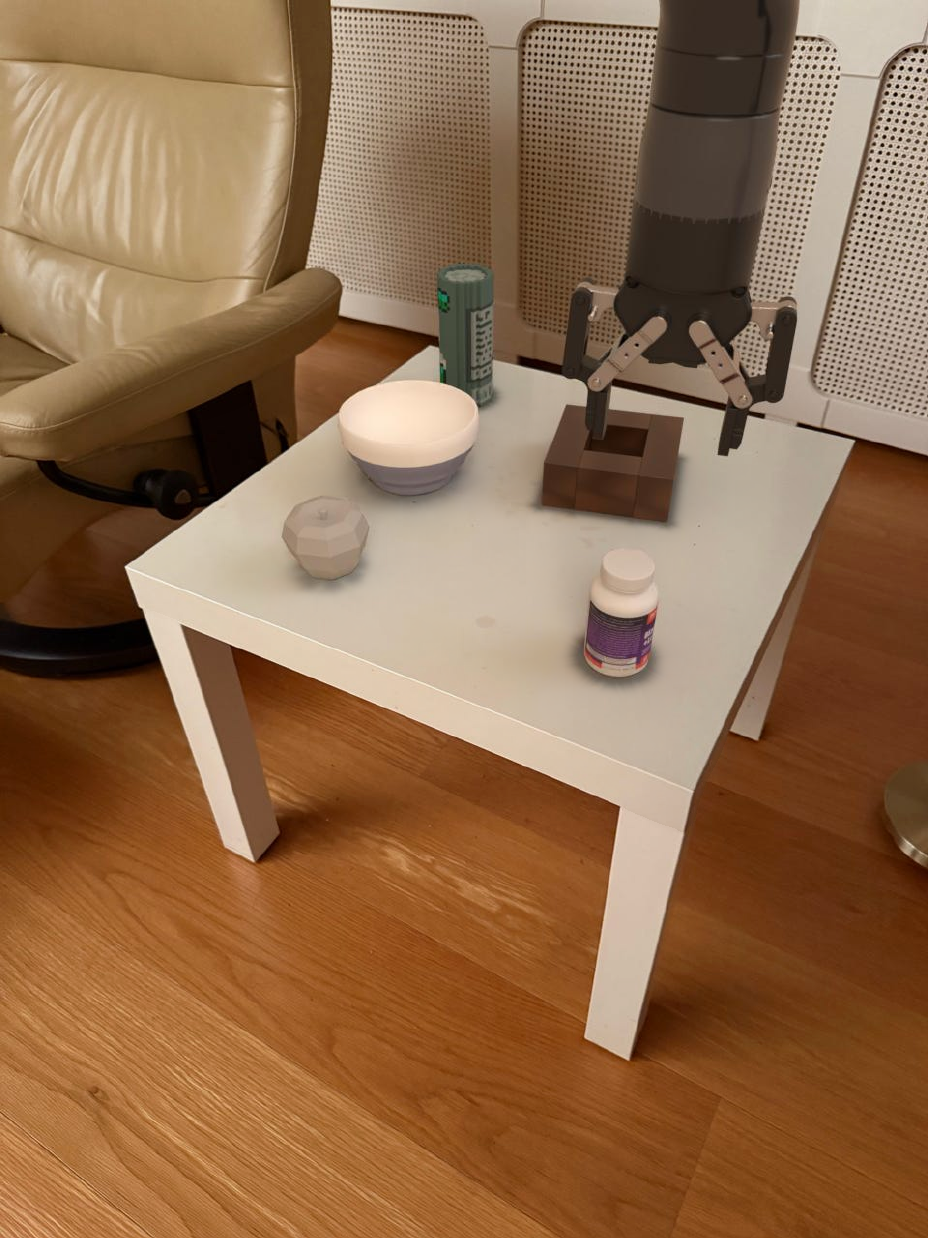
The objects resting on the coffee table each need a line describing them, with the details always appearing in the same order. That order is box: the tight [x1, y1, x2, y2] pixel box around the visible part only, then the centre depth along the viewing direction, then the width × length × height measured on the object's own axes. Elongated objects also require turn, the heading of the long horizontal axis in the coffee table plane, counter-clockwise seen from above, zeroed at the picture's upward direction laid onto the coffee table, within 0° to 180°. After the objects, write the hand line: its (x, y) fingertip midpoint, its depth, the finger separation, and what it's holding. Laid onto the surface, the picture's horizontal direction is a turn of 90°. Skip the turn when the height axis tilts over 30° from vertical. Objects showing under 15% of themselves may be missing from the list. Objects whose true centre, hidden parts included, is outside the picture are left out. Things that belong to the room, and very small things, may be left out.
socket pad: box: [541, 404, 685, 523], centre depth 92 cm, size 13×13×5 cm
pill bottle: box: [583, 547, 660, 678], centre depth 70 cm, size 5×5×10 cm
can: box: [436, 263, 495, 408], centre depth 103 cm, size 6×6×15 cm
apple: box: [281, 495, 370, 580], centre depth 80 cm, size 8×8×7 cm
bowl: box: [337, 379, 480, 496], centre depth 92 cm, size 14×14×8 cm
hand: (660, 442), depth 61 cm, fingers open, 8 cm apart
